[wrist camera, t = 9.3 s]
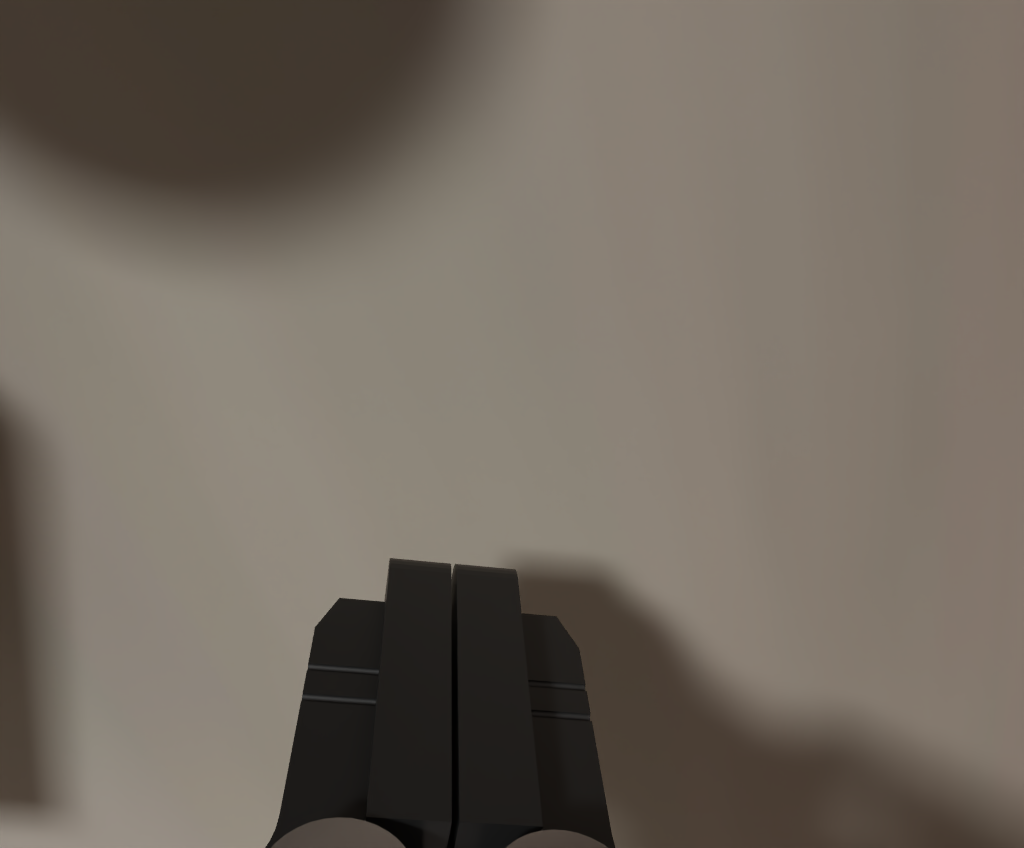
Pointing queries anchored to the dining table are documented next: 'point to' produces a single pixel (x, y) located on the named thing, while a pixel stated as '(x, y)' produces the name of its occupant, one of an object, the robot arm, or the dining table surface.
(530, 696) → the robot arm
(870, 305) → the dining table surface
